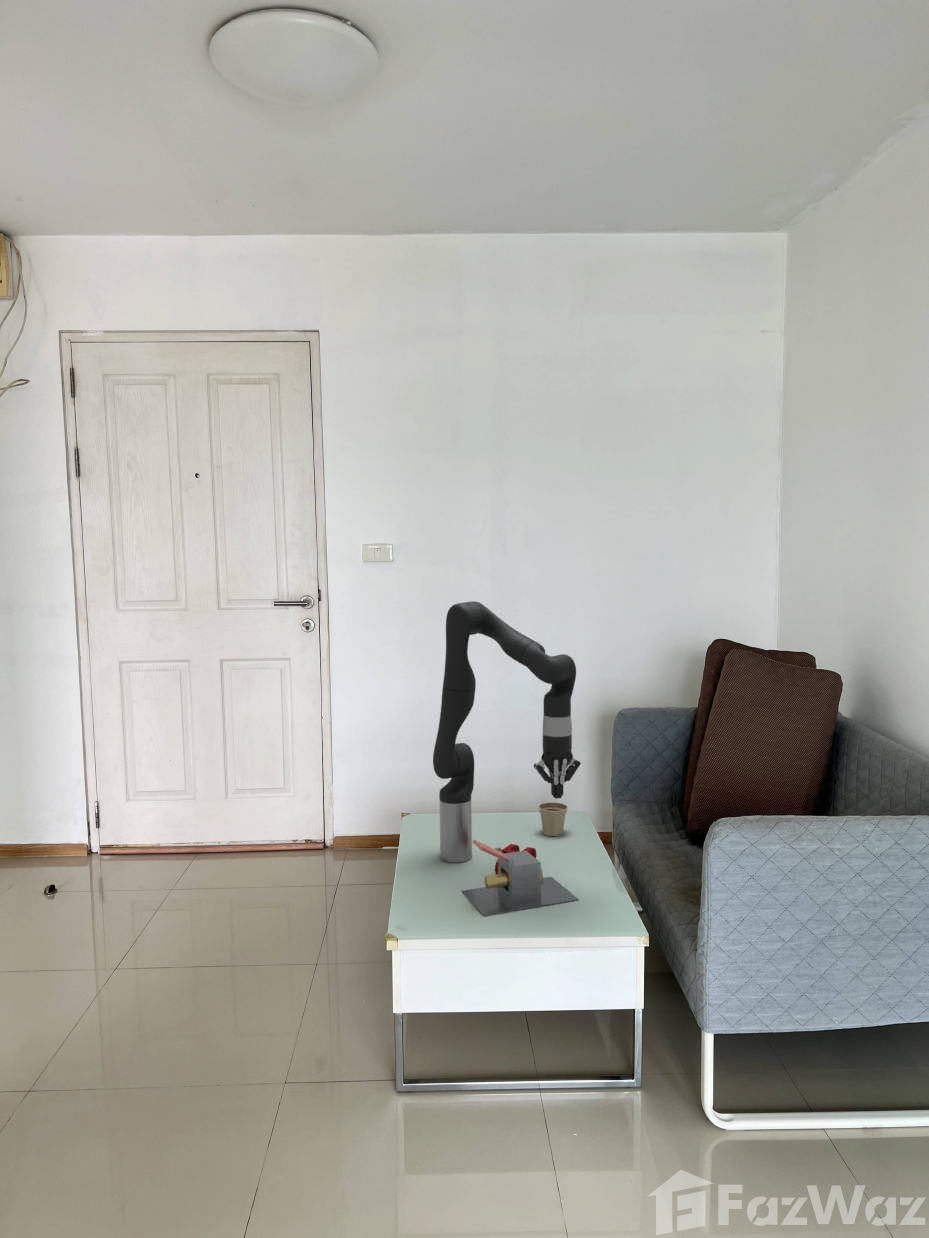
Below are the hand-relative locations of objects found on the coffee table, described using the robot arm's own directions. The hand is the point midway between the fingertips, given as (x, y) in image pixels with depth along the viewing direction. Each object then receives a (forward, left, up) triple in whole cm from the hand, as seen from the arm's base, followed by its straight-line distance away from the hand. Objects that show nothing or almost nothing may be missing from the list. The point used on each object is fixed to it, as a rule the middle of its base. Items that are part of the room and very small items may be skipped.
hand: (557, 797), depth 226 cm
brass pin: (0, -13, -23) cm, 26 cm away
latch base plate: (0, -11, -25) cm, 27 cm away
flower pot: (-40, +18, -25) cm, 50 cm away
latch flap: (0, -19, -12) cm, 22 cm away
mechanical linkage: (-18, -5, -25) cm, 31 cm away
